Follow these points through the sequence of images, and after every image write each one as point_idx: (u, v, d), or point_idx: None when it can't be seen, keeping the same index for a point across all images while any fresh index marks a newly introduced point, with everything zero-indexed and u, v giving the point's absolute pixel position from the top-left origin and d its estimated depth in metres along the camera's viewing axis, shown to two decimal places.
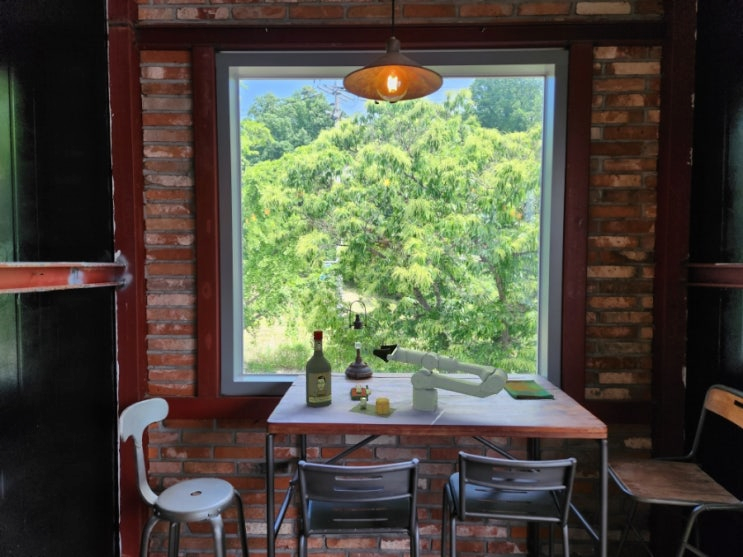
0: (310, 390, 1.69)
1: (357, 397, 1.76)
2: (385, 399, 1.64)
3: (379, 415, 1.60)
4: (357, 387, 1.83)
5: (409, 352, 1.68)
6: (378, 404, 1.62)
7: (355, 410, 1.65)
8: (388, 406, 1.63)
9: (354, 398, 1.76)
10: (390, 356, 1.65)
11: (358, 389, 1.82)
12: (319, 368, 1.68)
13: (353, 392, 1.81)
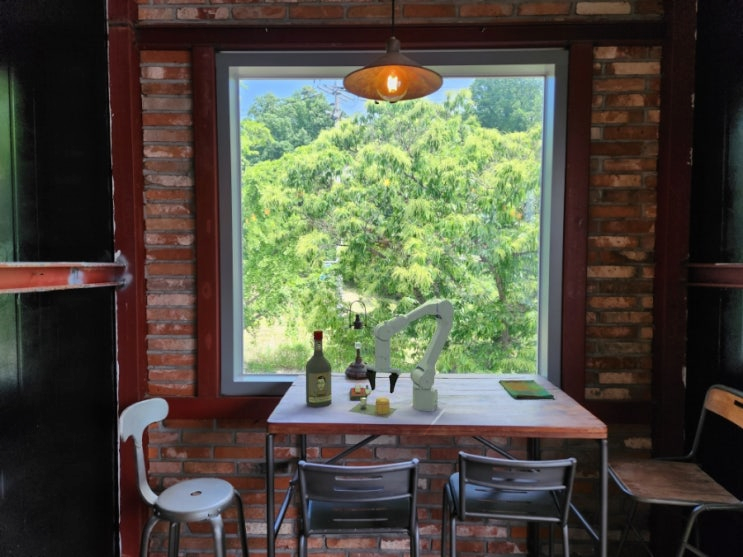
0: (310, 390, 1.69)
1: (356, 397, 1.76)
2: (385, 399, 1.64)
3: (379, 415, 1.60)
4: (356, 387, 1.83)
5: (379, 355, 1.60)
6: (378, 404, 1.62)
7: (355, 410, 1.65)
8: (388, 406, 1.63)
9: (353, 398, 1.76)
10: (400, 371, 1.59)
11: (357, 389, 1.82)
12: (320, 368, 1.68)
13: (352, 392, 1.81)
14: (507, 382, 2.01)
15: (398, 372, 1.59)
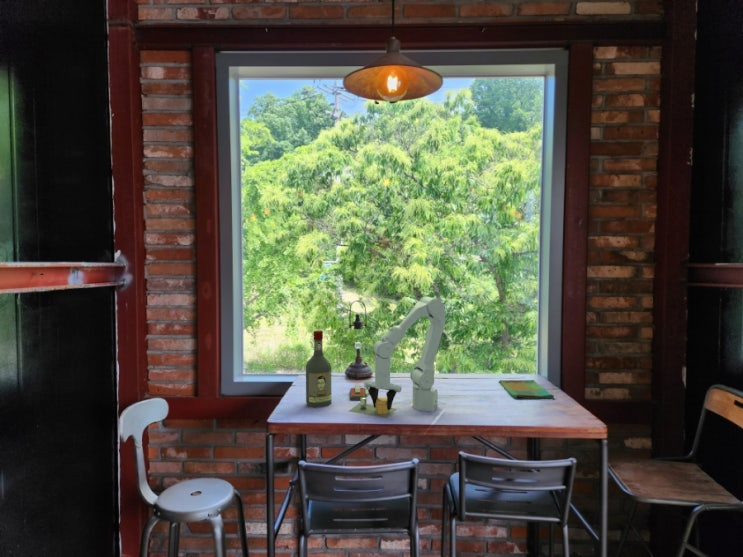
0: (310, 390, 1.69)
1: (355, 397, 1.76)
2: (385, 399, 1.64)
3: (379, 415, 1.60)
4: (356, 387, 1.83)
5: (379, 372, 1.60)
6: (378, 404, 1.62)
7: (355, 410, 1.65)
8: None
9: (352, 398, 1.76)
10: (399, 388, 1.60)
11: (357, 389, 1.82)
12: (319, 368, 1.68)
13: (352, 392, 1.81)
14: (507, 382, 2.01)
15: (398, 389, 1.60)
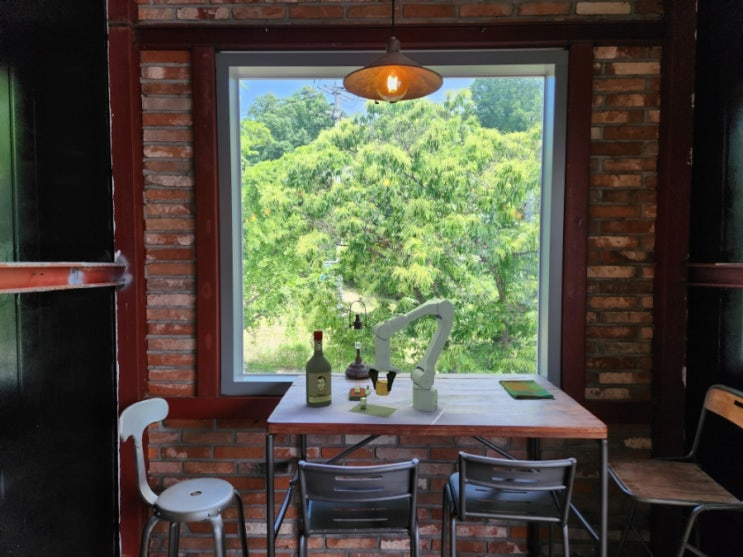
0: (310, 390, 1.69)
1: (354, 397, 1.76)
2: (385, 381, 1.64)
3: (379, 415, 1.60)
4: (356, 387, 1.83)
5: (379, 354, 1.60)
6: (378, 386, 1.61)
7: (355, 410, 1.65)
8: None
9: (351, 398, 1.76)
10: (400, 370, 1.59)
11: (357, 389, 1.82)
12: (319, 368, 1.68)
13: (351, 392, 1.81)
14: (507, 382, 2.01)
15: (398, 371, 1.59)
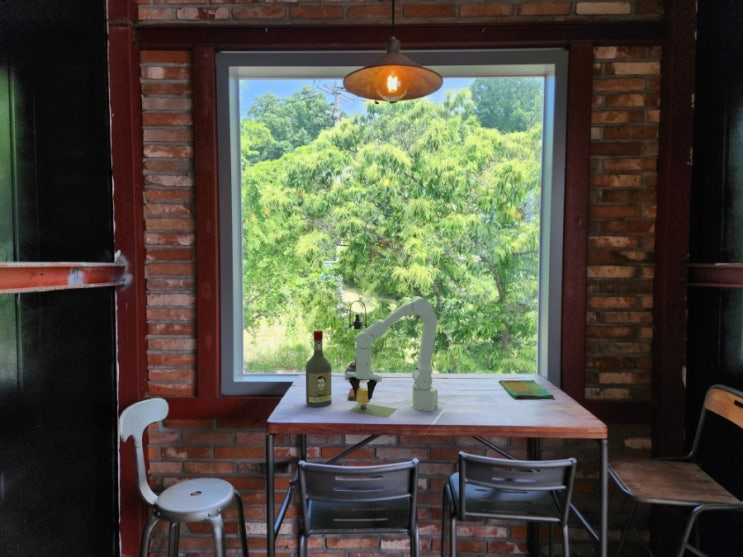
0: (310, 390, 1.69)
1: (354, 397, 1.76)
2: (366, 389, 1.67)
3: (379, 415, 1.60)
4: None
5: (358, 362, 1.64)
6: (359, 394, 1.65)
7: (355, 410, 1.65)
8: None
9: (351, 398, 1.76)
10: (380, 378, 1.63)
11: None
12: (319, 368, 1.68)
13: (351, 392, 1.81)
14: (507, 382, 2.01)
15: (378, 379, 1.63)
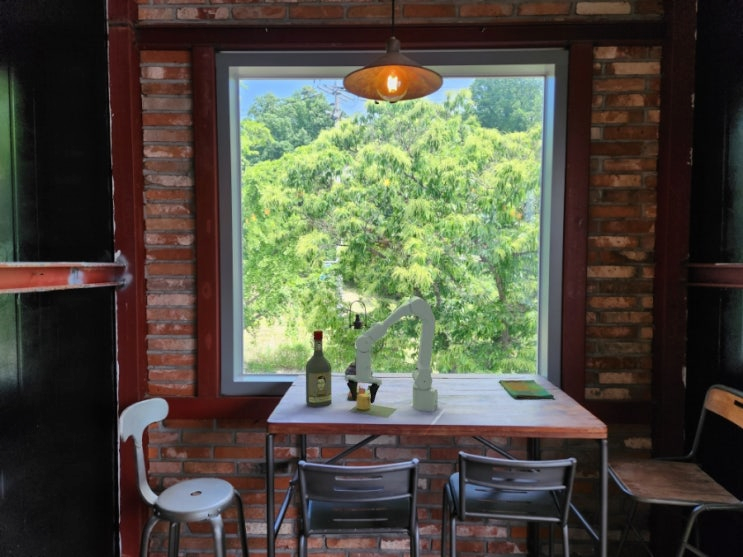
0: (310, 390, 1.69)
1: None
2: (366, 395, 1.67)
3: (379, 415, 1.60)
4: None
5: (358, 365, 1.64)
6: (359, 400, 1.65)
7: (355, 410, 1.65)
8: (369, 402, 1.66)
9: (350, 398, 1.76)
10: (380, 381, 1.63)
11: None
12: (319, 368, 1.68)
13: None
14: (507, 382, 2.01)
15: (378, 383, 1.63)
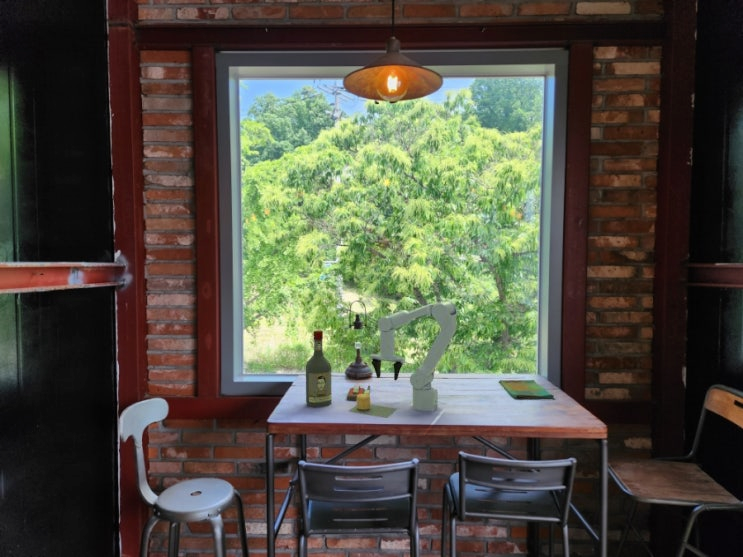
0: (310, 390, 1.69)
1: (352, 397, 1.76)
2: (366, 395, 1.67)
3: (379, 415, 1.60)
4: (355, 387, 1.83)
5: (380, 344, 1.75)
6: (359, 400, 1.65)
7: (355, 410, 1.65)
8: (369, 402, 1.66)
9: (349, 398, 1.76)
10: (403, 359, 1.72)
11: (355, 389, 1.81)
12: (319, 368, 1.68)
13: (350, 392, 1.81)
14: (507, 382, 2.01)
15: (402, 360, 1.72)
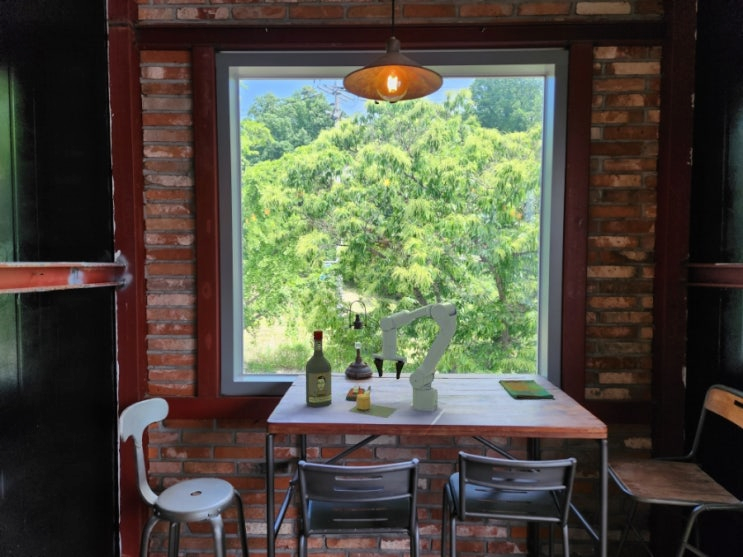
0: (310, 390, 1.69)
1: (351, 397, 1.76)
2: (366, 395, 1.67)
3: (379, 415, 1.60)
4: (355, 387, 1.83)
5: (382, 343, 1.76)
6: (359, 400, 1.65)
7: (355, 410, 1.65)
8: (369, 402, 1.66)
9: (348, 398, 1.76)
10: (405, 359, 1.73)
11: (355, 390, 1.81)
12: (319, 368, 1.68)
13: (350, 392, 1.81)
14: (507, 382, 2.01)
15: (404, 360, 1.73)
